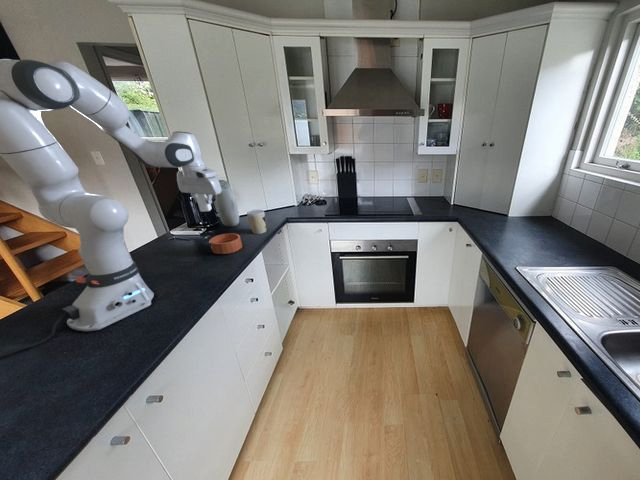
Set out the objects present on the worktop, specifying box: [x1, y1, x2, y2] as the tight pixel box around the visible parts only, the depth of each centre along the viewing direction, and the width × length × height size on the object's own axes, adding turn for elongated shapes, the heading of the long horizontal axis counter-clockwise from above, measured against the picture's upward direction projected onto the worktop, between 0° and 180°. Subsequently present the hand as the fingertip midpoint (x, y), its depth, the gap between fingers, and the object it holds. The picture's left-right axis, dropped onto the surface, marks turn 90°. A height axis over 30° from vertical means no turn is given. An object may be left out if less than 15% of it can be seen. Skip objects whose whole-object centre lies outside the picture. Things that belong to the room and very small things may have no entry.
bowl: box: [208, 232, 243, 255], centre depth 137 cm, size 14×14×6 cm
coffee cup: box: [246, 209, 267, 235], centre depth 158 cm, size 9×9×12 cm
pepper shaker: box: [197, 194, 212, 213], centre depth 125 cm, size 4×4×10 cm
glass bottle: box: [215, 179, 240, 228], centre depth 162 cm, size 10×10×28 cm
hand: (204, 202), depth 125 cm, fingers closed on pepper shaker, 5 cm apart
